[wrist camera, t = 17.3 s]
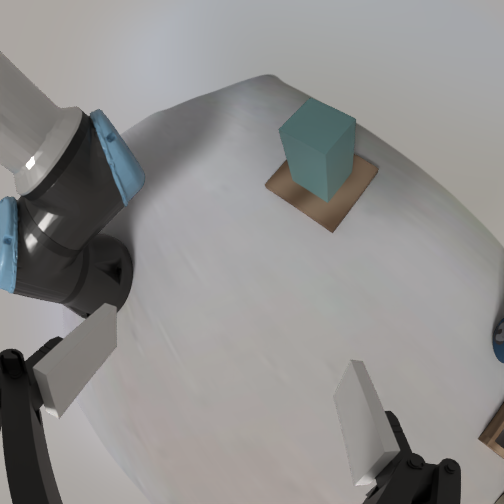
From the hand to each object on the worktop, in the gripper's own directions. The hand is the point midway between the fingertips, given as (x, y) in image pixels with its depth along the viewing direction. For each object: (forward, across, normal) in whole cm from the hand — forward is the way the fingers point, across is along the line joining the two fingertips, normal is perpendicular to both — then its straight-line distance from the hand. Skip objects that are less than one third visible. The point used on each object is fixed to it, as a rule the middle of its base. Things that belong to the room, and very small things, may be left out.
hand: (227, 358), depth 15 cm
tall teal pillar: (+29, +7, +12) cm, 32 cm away
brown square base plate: (+30, +8, +11) cm, 33 cm away
